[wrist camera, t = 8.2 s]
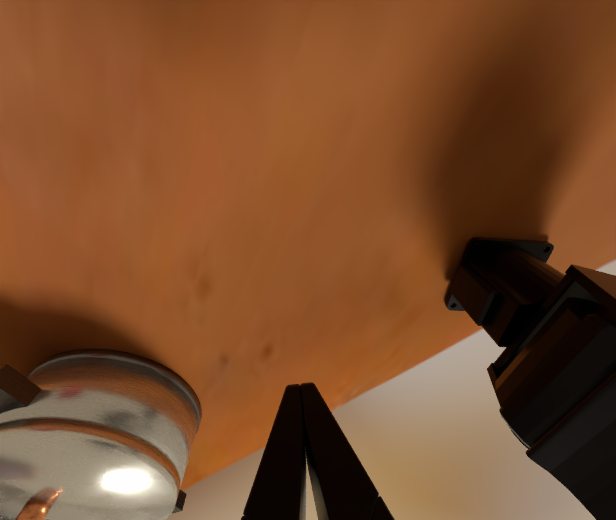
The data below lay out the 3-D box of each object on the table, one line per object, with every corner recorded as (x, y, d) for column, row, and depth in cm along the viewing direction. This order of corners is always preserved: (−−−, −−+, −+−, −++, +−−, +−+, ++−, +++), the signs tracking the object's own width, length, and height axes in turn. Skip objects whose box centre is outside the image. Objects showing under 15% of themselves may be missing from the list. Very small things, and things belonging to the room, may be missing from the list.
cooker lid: (83, 391, 19) (54, 432, 16) (216, 496, 26) (209, 534, 24) (-137, 473, 22) (-186, 516, 20) (38, 545, 29) (16, 583, 27)
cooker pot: (107, 301, 23) (51, 361, 18) (243, 440, 33) (234, 505, 28) (-44, 365, 25) (-133, 434, 20) (125, 477, 35) (96, 543, 30)
